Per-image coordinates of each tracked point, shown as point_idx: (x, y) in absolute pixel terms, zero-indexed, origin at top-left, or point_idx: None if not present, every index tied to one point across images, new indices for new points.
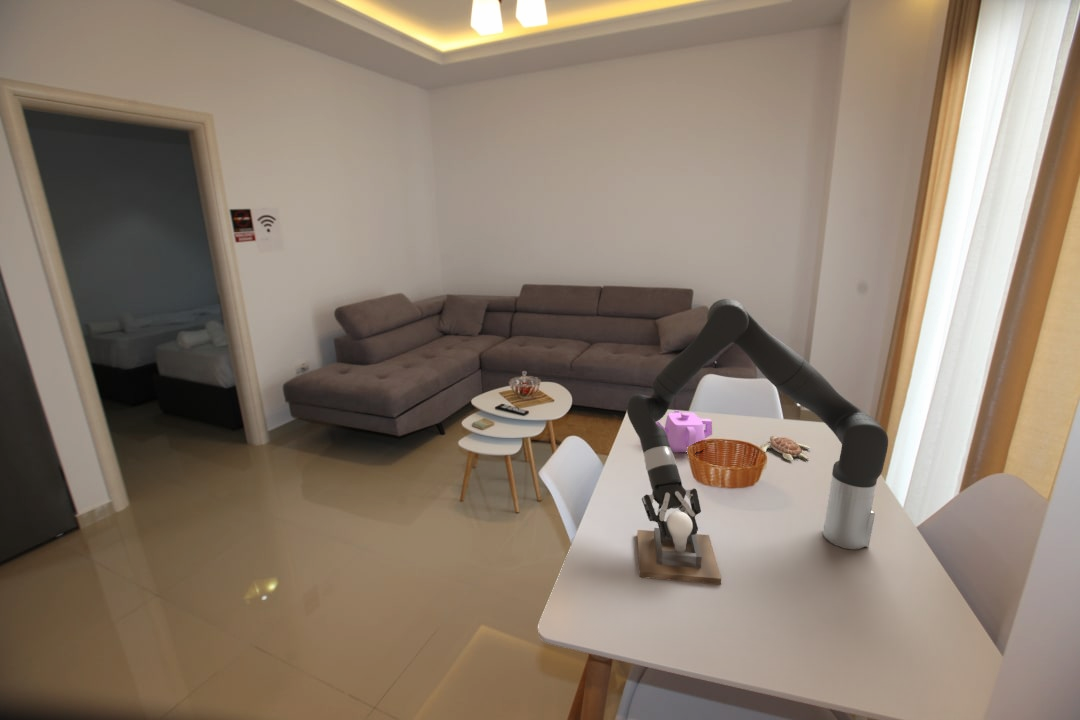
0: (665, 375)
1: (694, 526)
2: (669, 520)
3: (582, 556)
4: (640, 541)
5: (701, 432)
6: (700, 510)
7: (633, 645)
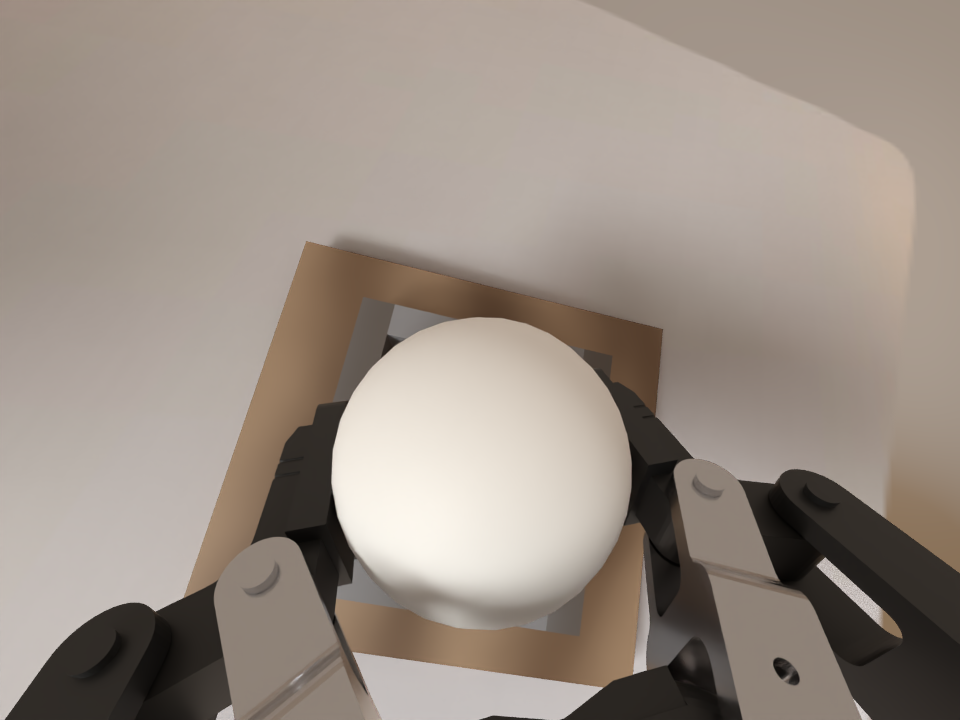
0: None
1: (318, 439)
2: (626, 436)
3: (862, 486)
4: (630, 562)
5: None
6: (57, 657)
7: (697, 76)
